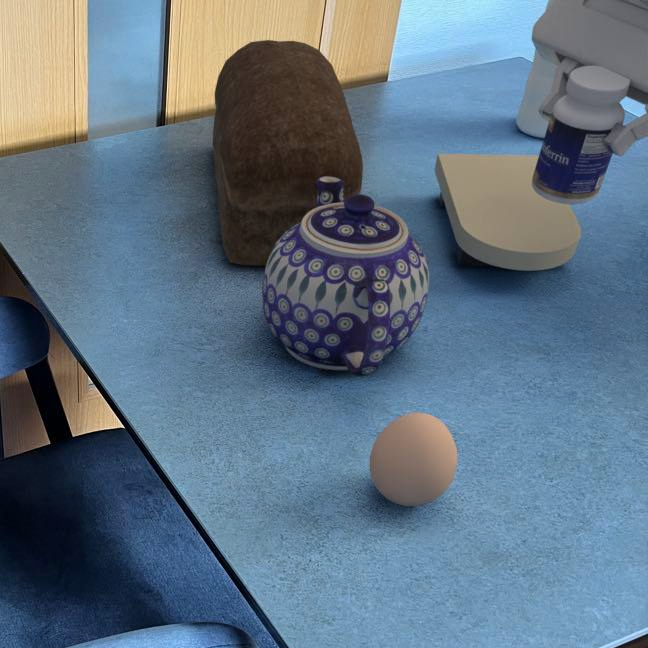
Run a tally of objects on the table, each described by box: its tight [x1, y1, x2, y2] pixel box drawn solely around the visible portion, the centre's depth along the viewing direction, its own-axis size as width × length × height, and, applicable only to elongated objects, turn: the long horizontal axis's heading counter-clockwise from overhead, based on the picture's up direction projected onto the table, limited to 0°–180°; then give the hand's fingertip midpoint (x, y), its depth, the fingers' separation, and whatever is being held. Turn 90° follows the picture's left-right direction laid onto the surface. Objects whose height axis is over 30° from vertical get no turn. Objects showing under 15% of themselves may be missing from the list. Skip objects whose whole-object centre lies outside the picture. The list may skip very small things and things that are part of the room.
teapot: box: [261, 176, 430, 377], centre depth 94 cm, size 25×15×15 cm, turn 179°
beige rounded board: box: [434, 153, 582, 272], centre depth 110 cm, size 22×12×5 cm, turn 175°
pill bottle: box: [532, 66, 630, 205], centre depth 88 cm, size 6×6×10 cm
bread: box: [212, 39, 364, 267], centre depth 114 cm, size 15×32×16 cm, turn 178°
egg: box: [369, 412, 459, 507], centre depth 81 cm, size 7×7×8 cm
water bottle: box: [515, 0, 558, 139], centre depth 124 cm, size 7×7×25 cm
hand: (578, 133), depth 87 cm, fingers closed on pill bottle, 6 cm apart
